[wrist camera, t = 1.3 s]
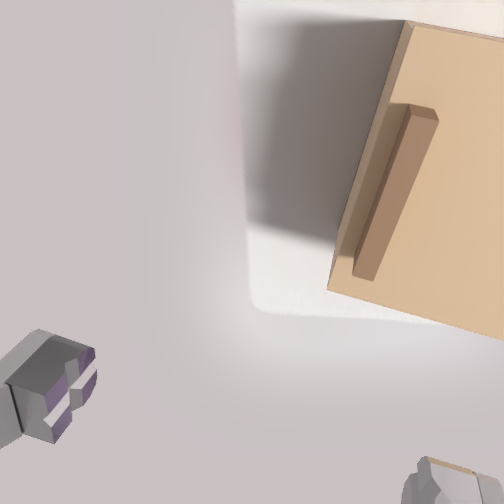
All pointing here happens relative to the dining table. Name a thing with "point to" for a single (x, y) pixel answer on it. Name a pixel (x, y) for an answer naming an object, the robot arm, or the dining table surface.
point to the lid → (434, 190)
